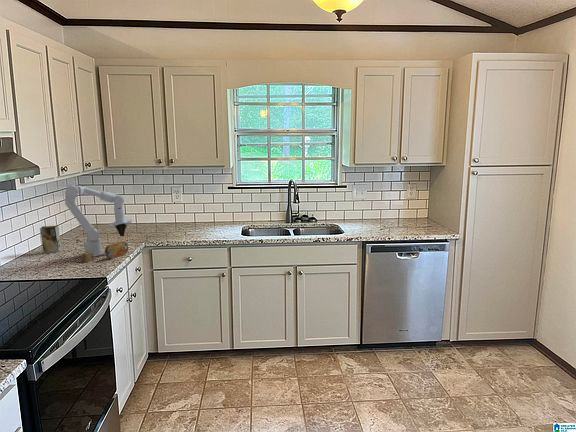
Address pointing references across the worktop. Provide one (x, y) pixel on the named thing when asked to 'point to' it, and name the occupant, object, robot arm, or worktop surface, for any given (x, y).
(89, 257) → the letter block
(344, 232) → the worktop surface
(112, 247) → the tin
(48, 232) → the coffee box
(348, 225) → the worktop surface
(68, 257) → the worktop surface
